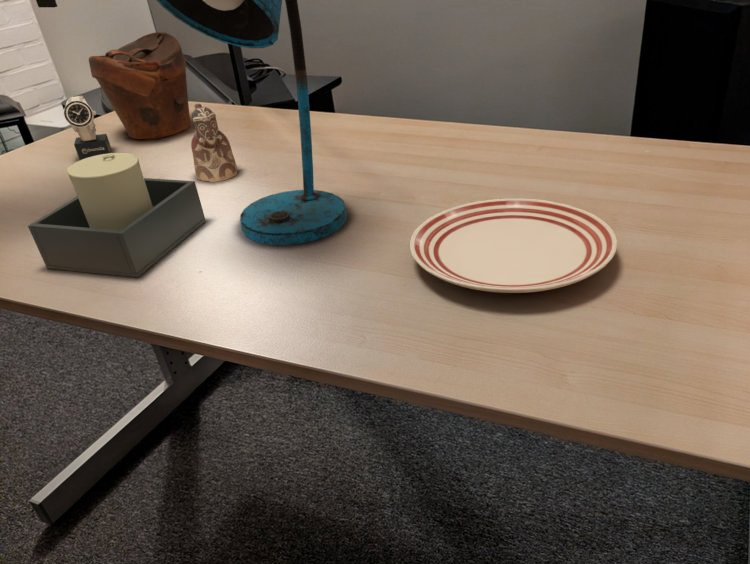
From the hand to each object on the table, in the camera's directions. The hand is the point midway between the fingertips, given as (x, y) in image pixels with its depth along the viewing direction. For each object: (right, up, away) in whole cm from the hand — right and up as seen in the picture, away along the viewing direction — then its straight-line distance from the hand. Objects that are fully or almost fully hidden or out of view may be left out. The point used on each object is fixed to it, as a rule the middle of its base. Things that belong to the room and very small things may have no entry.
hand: (13, 15), depth 91 cm
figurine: (+19, -16, +26) cm, 36 cm away
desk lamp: (+37, -28, +8) cm, 47 cm away
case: (-1, -1, +48) cm, 48 cm away
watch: (-9, -9, +37) cm, 39 cm away
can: (+14, -31, +5) cm, 34 cm away
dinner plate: (+70, -34, -3) cm, 78 cm away
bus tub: (+14, -31, +5) cm, 35 cm away
